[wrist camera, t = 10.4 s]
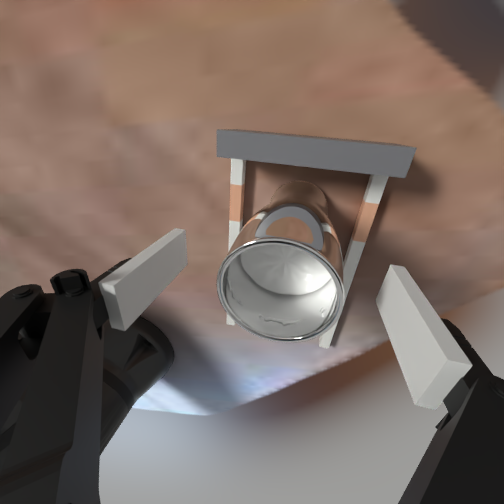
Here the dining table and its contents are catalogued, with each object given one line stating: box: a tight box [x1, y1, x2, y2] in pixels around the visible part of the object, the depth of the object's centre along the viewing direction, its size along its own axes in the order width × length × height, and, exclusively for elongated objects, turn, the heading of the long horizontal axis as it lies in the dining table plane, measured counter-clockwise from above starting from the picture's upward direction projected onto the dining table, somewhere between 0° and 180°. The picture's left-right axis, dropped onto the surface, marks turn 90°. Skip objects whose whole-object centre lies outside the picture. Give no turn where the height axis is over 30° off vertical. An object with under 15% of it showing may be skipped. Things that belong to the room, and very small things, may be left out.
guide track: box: [217, 129, 417, 349], centre depth 25 cm, size 25×14×5 cm, turn 176°
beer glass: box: [217, 180, 345, 343], centre depth 18 cm, size 7×7×15 cm
